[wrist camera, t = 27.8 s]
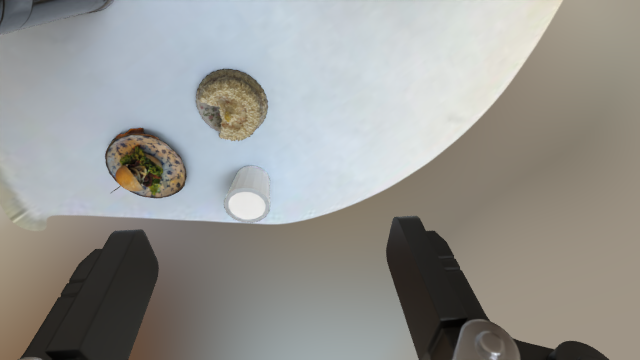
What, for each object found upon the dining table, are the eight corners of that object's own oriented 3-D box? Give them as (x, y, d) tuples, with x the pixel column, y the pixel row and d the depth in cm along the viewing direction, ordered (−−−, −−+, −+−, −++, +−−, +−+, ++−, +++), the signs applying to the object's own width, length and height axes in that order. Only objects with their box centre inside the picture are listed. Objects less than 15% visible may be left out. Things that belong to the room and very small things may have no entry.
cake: (243, 54, 42) (240, 64, 38) (280, 116, 48) (281, 131, 43) (180, 88, 44) (170, 102, 39) (223, 145, 49) (219, 162, 45)
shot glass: (228, 163, 51) (218, 189, 46) (270, 161, 51) (266, 186, 46) (236, 197, 55) (228, 224, 50) (275, 194, 55) (272, 222, 50)
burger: (189, 196, 55) (175, 226, 49) (115, 186, 53) (91, 216, 47) (188, 135, 48) (172, 160, 42) (104, 121, 46) (74, 146, 40)
